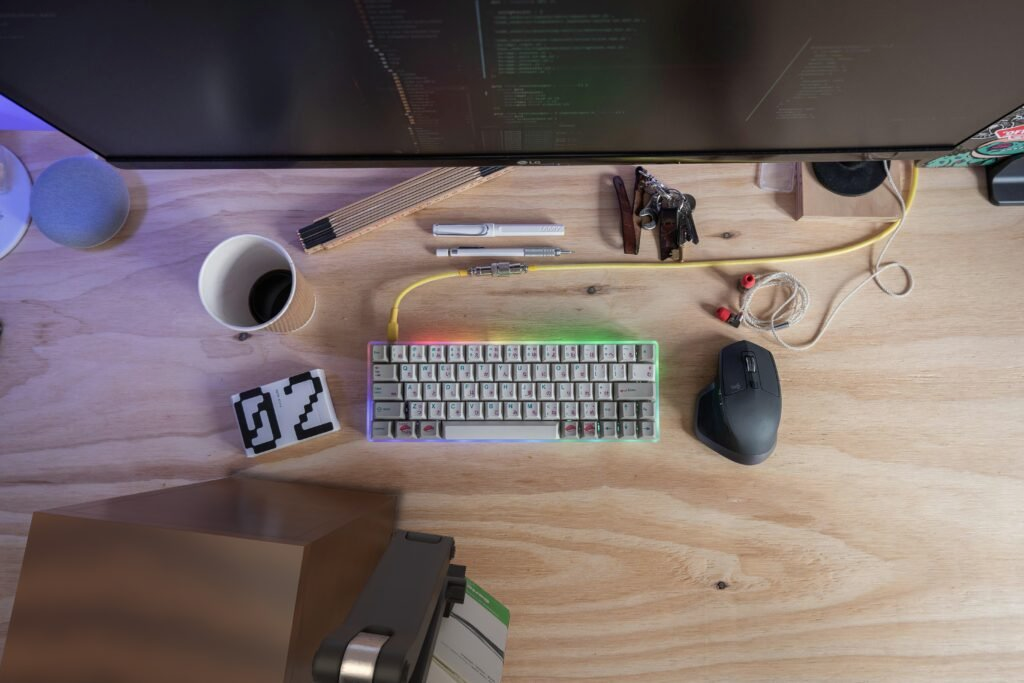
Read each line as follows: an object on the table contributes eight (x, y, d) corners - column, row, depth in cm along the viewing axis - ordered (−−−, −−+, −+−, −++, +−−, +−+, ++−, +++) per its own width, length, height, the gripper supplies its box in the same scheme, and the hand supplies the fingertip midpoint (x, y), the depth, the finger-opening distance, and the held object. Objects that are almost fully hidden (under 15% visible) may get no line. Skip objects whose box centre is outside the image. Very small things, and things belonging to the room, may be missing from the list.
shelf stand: (379, 619, 70) (280, 747, 42) (212, 597, 70) (7, 708, 43) (396, 496, 71) (312, 541, 44) (233, 476, 72) (49, 508, 45)
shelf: (280, 747, 42) (271, 759, 40) (7, 708, 43) (-12, 719, 41) (312, 541, 44) (304, 545, 42) (49, 508, 45) (33, 511, 43)
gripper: (131, 500, 12) (391, 450, 34) (-191, 2023, 9) (323, 881, 31) (509, 555, 11) (522, 468, 34) (303, 2159, 9) (467, 905, 31)
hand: (427, 666), depth 32 cm, fingers closed on ink box, 9 cm apart
